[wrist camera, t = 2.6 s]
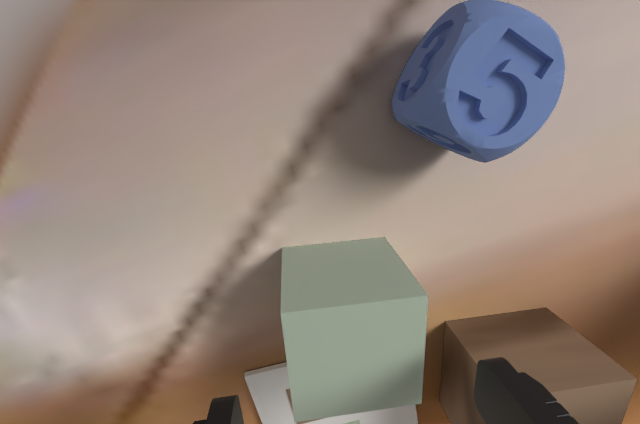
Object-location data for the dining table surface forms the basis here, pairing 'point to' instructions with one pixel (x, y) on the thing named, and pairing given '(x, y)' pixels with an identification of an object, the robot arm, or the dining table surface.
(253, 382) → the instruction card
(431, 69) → the decorative dice
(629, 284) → the dining table surface
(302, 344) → the sage cube
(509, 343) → the base block
